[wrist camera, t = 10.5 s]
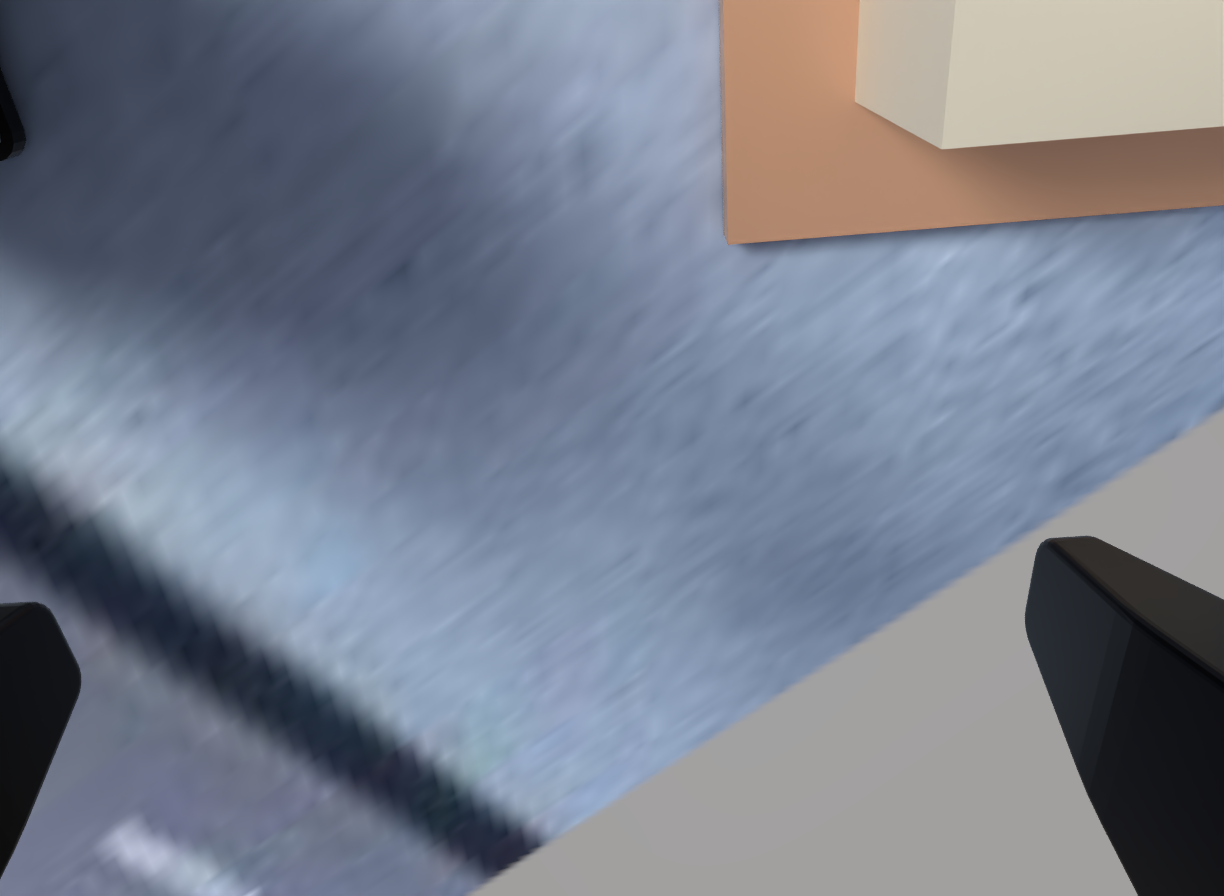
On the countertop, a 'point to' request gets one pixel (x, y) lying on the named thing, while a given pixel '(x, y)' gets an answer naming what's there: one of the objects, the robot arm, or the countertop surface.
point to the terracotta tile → (906, 147)
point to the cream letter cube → (1040, 68)
